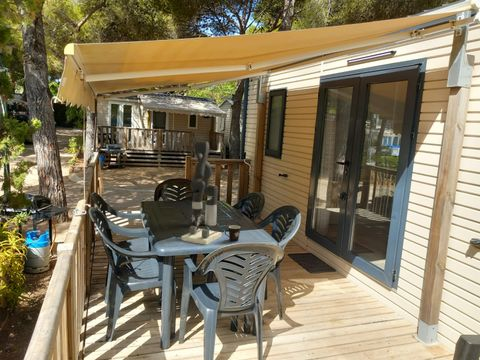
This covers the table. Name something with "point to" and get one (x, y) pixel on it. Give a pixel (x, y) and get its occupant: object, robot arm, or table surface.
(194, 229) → the slider
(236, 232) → the coffee mug
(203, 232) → the slider
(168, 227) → the table surface
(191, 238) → the switch panel
